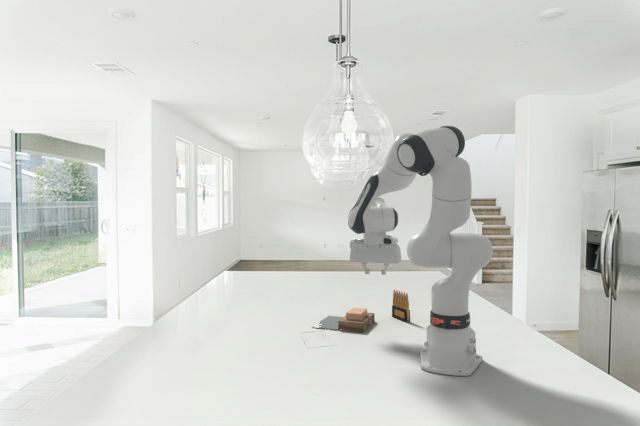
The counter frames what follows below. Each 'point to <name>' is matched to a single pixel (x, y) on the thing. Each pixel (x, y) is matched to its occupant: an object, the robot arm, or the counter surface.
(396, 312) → the ammunition clip
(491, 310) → the counter surface
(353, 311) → the tile
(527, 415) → the counter surface
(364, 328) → the deck
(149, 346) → the counter surface
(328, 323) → the mat
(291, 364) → the counter surface
